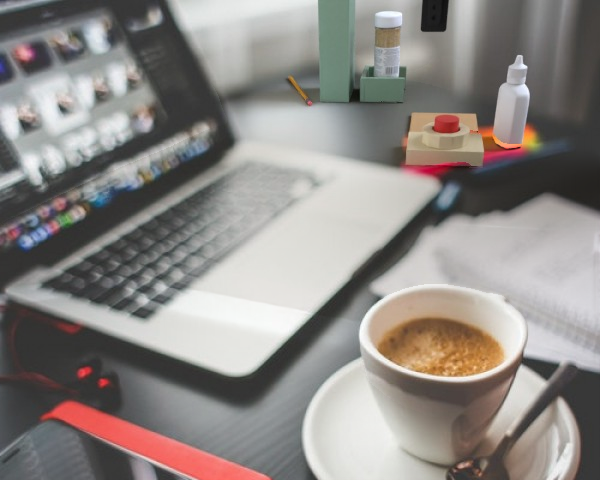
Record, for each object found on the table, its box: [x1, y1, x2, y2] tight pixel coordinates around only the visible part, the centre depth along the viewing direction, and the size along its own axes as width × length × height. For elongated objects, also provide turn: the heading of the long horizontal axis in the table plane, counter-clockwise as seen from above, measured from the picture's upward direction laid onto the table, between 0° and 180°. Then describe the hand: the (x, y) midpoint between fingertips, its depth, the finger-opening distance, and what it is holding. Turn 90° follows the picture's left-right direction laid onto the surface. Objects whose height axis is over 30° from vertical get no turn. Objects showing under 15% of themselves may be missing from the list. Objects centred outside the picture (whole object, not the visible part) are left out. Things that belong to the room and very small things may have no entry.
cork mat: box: [409, 112, 479, 132], centre depth 96 cm, size 10×10×1 cm
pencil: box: [288, 75, 313, 107], centre depth 115 cm, size 19×1×1 cm, turn 12°
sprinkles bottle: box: [373, 10, 403, 77], centre depth 107 cm, size 5×5×14 cm
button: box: [434, 115, 459, 133], centre depth 84 cm, size 3×3×2 cm
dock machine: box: [317, 0, 408, 103], centre depth 106 cm, size 14×9×19 cm, turn 79°
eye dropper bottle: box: [492, 54, 531, 145], centre depth 86 cm, size 4×6×12 cm
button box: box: [405, 122, 485, 167], centre depth 85 cm, size 10×7×4 cm
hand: (434, 23), depth 84 cm, fingers open, 9 cm apart
